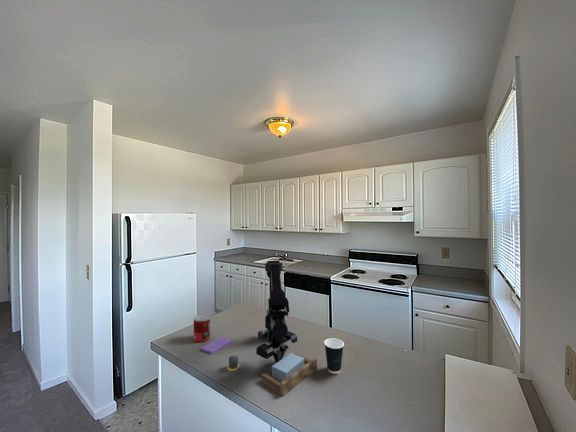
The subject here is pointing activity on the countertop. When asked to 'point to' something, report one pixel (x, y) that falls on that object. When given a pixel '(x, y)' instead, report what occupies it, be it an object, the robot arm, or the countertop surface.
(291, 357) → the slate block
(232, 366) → the bollards
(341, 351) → the dixie cup
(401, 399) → the countertop surface
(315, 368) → the bay
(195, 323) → the canned food
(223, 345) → the sponges
